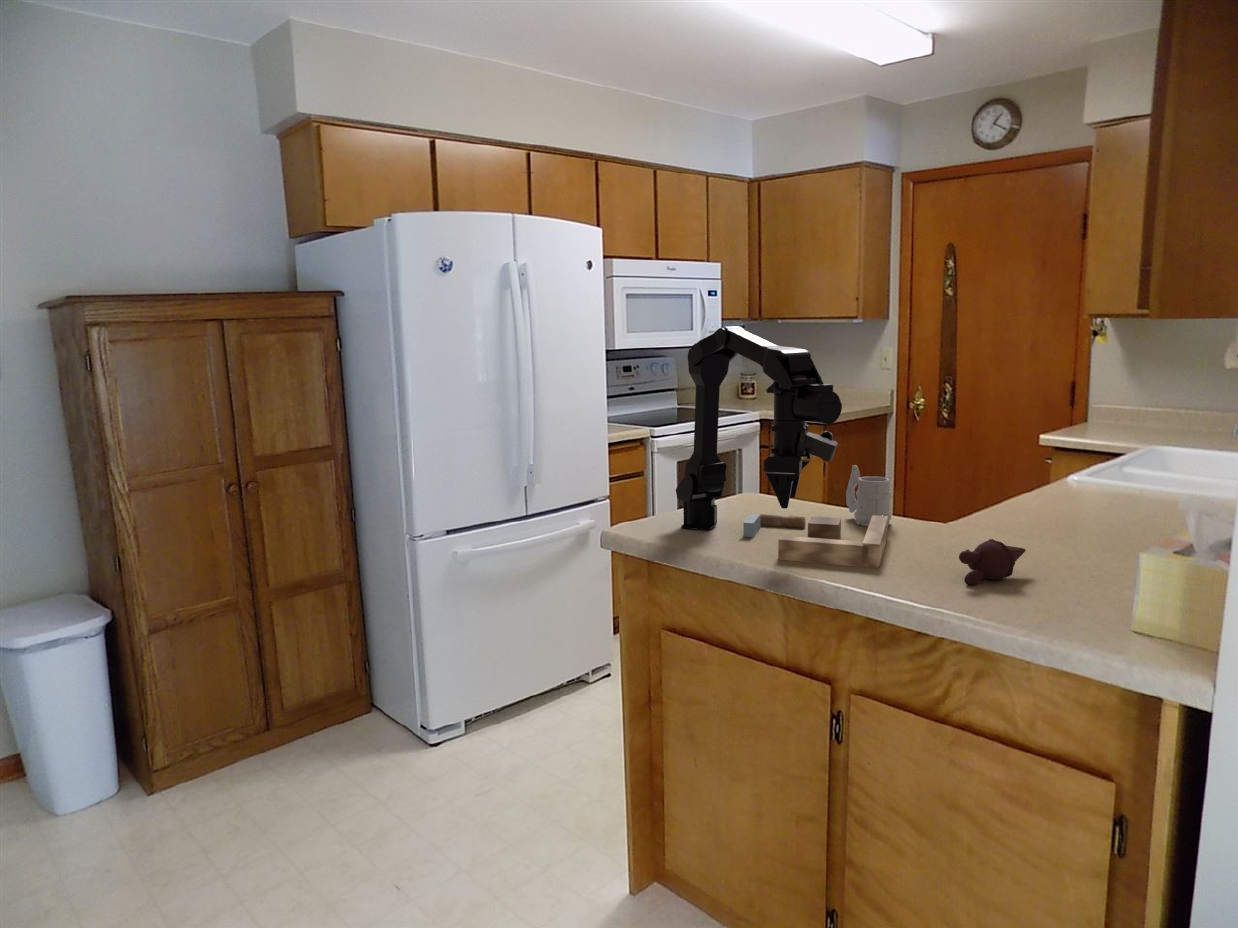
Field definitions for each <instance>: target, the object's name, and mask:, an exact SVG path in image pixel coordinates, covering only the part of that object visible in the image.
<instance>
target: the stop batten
mask: <svg viewBox="0 0 1238 928" xmlns="http://www.w3.org/2000/svg"><path fill="white" fill-rule="evenodd" d="M760 514H761V513H758V514H756V513H751V514H750V515H749V516H748V517H747V518H746V519H745V520H744V521H743V525H742V526H743V528H742V529H743V531H742V532H743V533H742V534H743V535H742V536H743V537H745V538H754V537H755V536H756V535H757V533H758V532H759V531H760V529H761V525H760Z"/></svg>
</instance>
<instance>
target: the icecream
mask: <svg viewBox="0 0 1238 928" xmlns="http://www.w3.org/2000/svg"><path fill="white" fill-rule="evenodd" d="M1025 552H1026V548H1022V547H1017V546H1011V545H1006V544H1005V543H1003V542H1001V541H998V540H995V539H993V538H989V539H988V540H987V541H986V540H985V541H984V542H982V543H980V544H979V545H977V546H976V548H975V549H974V550H972V551H971V550H970V549H966V550H962V551H961V552H960V553H959V555H958V560H959V561H960V562H961V563H962V564H965V565H967V566H968V568H969V569H970V570H971V571H969V572H968V573H966V575H965V577H964V583H965V584H966V586H973V585H977V584H979V582H981V580H984V579H985V580H1003V579H1005V578H1009V577H1011V576H1012V575H1013V573H1014V567H1015V564H1016V562H1017V561H1018V559H1020V557H1022V556H1023V554H1025Z"/></svg>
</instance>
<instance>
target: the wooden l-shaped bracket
mask: <svg viewBox="0 0 1238 928" xmlns="http://www.w3.org/2000/svg"><path fill="white" fill-rule="evenodd" d="M888 526H889V525H888V516H877V515H872V518H871V521H870V524H869V526H868V527H867V530H866V532H865V536H864V538H863V541H861V540H849V539H846V540H845V539H840V540H835V539H822V538H808V536H806V537H805V536H792V535H781V536H780V537H779V538H778V543H777V545H778V546H777V547H778V550H777V552H778V553H777V559H778V560H781V561H791V562H792V561H794V562H802V563H803V562H805V563H816V564H826V565H841V566H850V567H863V568H874V569H875V568H876V569H879V568H880V566H881V562H882V559H883V555H884V550H885V547H886V543H887V541H888V540H887V539H888Z"/></svg>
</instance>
